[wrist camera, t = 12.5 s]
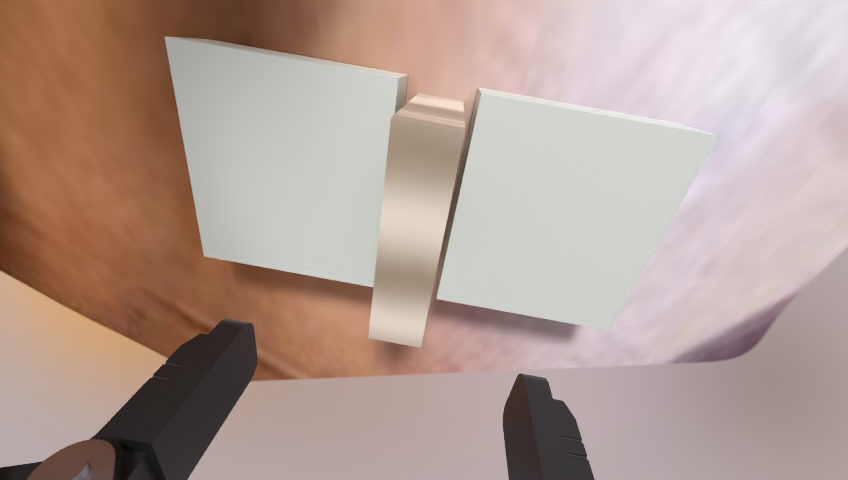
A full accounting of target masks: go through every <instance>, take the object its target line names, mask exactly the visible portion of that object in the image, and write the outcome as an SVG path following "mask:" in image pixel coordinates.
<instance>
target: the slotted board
mask: <svg viewBox="0 0 848 480" xmlns="http://www.w3.org/2000/svg"><path fill="white" fill-rule="evenodd" d="M164 37H165V36H164ZM165 42H166V48H167V53H168V59H169V65H170V70H171V76H172V81H173V87H174V92H175V98H176V103H177V109H178V115H179V120H180V126H181V131H182V137H183V142H184V148H185V153H186V159H187V165H188V170H189V176H190V181H191V187H192V192H193V198H194V203H195V209H196V214H197V220H198V226H199V231H200V237H201V242H202V248H203V253H204V256H205V257H210V258H216V259H221V260H227V261H232V262H238V263H243V264H248V265H254V266H259V267H265V268H270V269H276V270H281V271H287V272H292V273H298V274H303V275H308V276H314V277H319V278H325V279H330V280H336V281H341V282H347V283H352V284H358V285H363V286H368V287H374V277H375V268H376V258H377V248H378V239H379V229H380V219H381V209H382V200H383V190H384V180H385V170H386V161H387V151H388V141H389V132H390V122H391V117H392V116H393V115H395V114H396V113H397V112H398V111H399V110H400V109H401V108H402V107H403V106H405V98H406V89H407V81H408V75H407V74H401V73H396V72H390V71H385V70H379V69H373V68H368V67H362V66H357V65H351V64H345V63H340V62H334V61H329V60H323V59H318V58H312V57H306V56H301V55H295V54H290V53H284V52H278V51H273V50H267V49H262V48H256V47H250V46H245V45H239V44H234V43H228V42H223V41H217V40H211V39H196V38H180V37H165ZM717 137H718V135H715V134H711V133H708V132H705V131H702V130H698V129H695V128H692V127H689V126H686V125H682V124H679V123H675V122H670V121H664V120H658V119H653V118H647V117H642V116H636V115H630V114H625V113H619V112H614V111H608V110H602V109H597V108H591V107H586V106H580V105H575V104H569V103H563V102H558V101H552V100H547V99H541V98H535V97H530V96H524V95H519V94H513V93H508V92H502V91H496V90H491V89H485V88H480V87H478V90H477V94H476V99H475V104H474V108H473V113H472V118H471V123H470V127H469V132H468V137H467V141H466V146H465V151H464V155H463V160H462V165H461V169H460V174H459V179H458V184H457V188H456V193H455V198H454V202H453V207H452V212H451V216H450V221H449V226H448V231H447V235H446V240H445V245H444V249H443V254H442V259H441V263H440V268H439V277H438V288H437V298H436V299H439V300H445V301H450V302H456V303H461V304H467V305H472V306H478V307H483V308H488V309H494V310H499V311H505V312H510V313H516V314H521V315H527V316H532V317H538V318H543V319H548V320H554V321H559V322H565V323H570V324H576V325H581V326H587V327H592V328H598V329H603V330H608V331H610V329H611V327H612V325H613V324H614V322H615V320H616V318H617V316H618V315H619V313H620V311H621V309H622V307H623V306H624V304H625V302H626V300H627V299H628V297H629V295H630V293H631V291H632V290H633V288H634V286H635V284H636V282H637V281H638V279H639V277H640V275H641V273H642V272H643V270H644V268H645V266H646V264H647V263H648V261H649V259H650V257H651V256H652V254H653V252H654V250H655V248H656V247H657V245H658V243H659V241H660V239H661V238H662V236H663V234H664V232H665V230H666V229H667V227H668V225H669V223H670V222H671V220H672V218H673V216H674V214H675V213H676V211H677V209H678V207H679V205H680V204H681V202H682V200H683V198H684V196H685V195H686V193H687V191H688V189H689V187H690V186H691V184H692V182H693V180H694V179H695V177H696V175H697V173H698V171H699V170H700V168H701V166H702V164H703V162H704V161H705V159H706V157H707V155H708V153H709V152H710V150H711V148H712V146H713V144H714V143H715V141H716V139H717Z"/></svg>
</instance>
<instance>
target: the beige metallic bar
mask: <svg viewBox="0 0 848 480" xmlns="http://www.w3.org/2000/svg"><path fill="white" fill-rule="evenodd" d="M464 136H465V117H464V104H463V101H457V100H451V99H446V98H440V97H435V96H429V95H423V94H417V95H416V96H415V97H414V98H412V99H411V100H410V101H409V102H408V103H407V104H406V105H405V106H403V107H402V108H401V109H400V110H399V111H398V112H397V113H396V114H395V115H393V116H392V117H391V122H390V132H389V141H388V151H387V161H386V170H385V180H384V190H383V200H382V209H381V219H380V229H379V239H378V248H377V258H376V268H375V277H374V287H373V297H372V307H371V316H370V326H369V336H368V338H370V339H376V340H381V341H386V342H392V343H397V344H403V345H408V346H414V347H419V348H421V344H422V339H423V334H424V329H425V324H426V320H427V315H428V310H429V305H430V300H431V295H432V290H433V286H434V281H435V276H436V271H437V266H438V261H439V257H440V252H441V247H442V242H443V237H444V232H445V228H446V223H447V218H448V213H449V208H450V203H451V199H452V194H453V189H454V184H455V179H456V174H457V170H458V165H459V160H460V155H461V150H462V145H463V141H464Z"/></svg>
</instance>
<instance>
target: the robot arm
mask: <svg viewBox="0 0 848 480" xmlns="http://www.w3.org/2000/svg"><path fill="white" fill-rule="evenodd" d="M256 366H257V350H256V342H255V334H254V327H253V325H252V324H251V323H247V322H241V321H236V320H230V319H224V320H222V321H221V322H220V323H219V324H218V325H217V326H216V327H215V328H214V329H213V330H212V331H211V333H210V334H209V335H206V334H199V335H197V336H196V337H194V338H193V339H191V340H189V341H188V342H186V343H184V344H183V345H181V346H180V347H179V348H178V349H177V350H176V351H175V352H174V353H173V354H172V356H171V357H170V358H169V359H168V360H167V361H166V364H165V365H162V366H161V367H160V368H159V369H158V370H157V371H156V372H155V373H154V375H153V377H152V378H150V379H149V380H148V381H147V382H146V383H145V384H144V385H143V386H142V387H141V388H140V389H139V390H138V391H137V392H136V393H135V394H134V395H133V396H132V398H131V399H130V400H129V401H128V402H127V403H126V404H125V405H124V406H123V407H122V408H121V409H120V410H119V411H118V412H117V413H116V414H115V415H114V416H113V417H112V418H111V420H110V421H109V422H108V423H107V424H106V425H105V426H104V427H103V428H102V429H101V430H100V431H99V432H98V433H97V434H96V435H95V436H93V437H92V438H91V439H90V440H86V441H81V442H78V443H75V444H72V445H70V446H67V447H65V448H64V449H61V450H60V451H58V452H56V453H55V454H53V455H51V456H50V457H49V458H47V459H46V460H45V461H42V462H38V463H30V464H23V465H17V466H10V467H2V468H0V480H187V479H188V478H189V476H190V474H191V473H192V471H193V470H194V468H195V466H196V465H197V463H198V462H199V460H200V459H201V457H202V456H203V454H204V452H205V451H206V449H207V448H208V446H209V445H210V443H211V442H212V440H213V438H214V437H215V435H216V434H217V432H218V431H219V429H220V427H221V426H222V424H223V423H224V421H225V420H226V418H227V417H228V415H229V413H230V412H231V410H232V409H233V407H234V406H235V404H236V402H237V401H238V399H239V398H240V396H241V395H242V393H243V392H244V389H245V388H246V387H247V385H248V384H249V382H250V381H251V379H252V377H253V375H254V372H255V370H256ZM503 431H504V440H505V449H506V457H507V466H508V475H509V480H594V477H593V473H592V470H591V467H590V464H589V461H588V460H587V454H586V451H585V448H584V445H583V443H582V438H581V435H580V432H579V429H578V425H577V422H576V419H575V418H574V416H573V415H572V413H571V412H570V410H569V409H568V407H567V406H566V404H565V403H564V402H563V401H560V400H555V399H553V398H552V394H551V390H550V387H549V383H548V381H547V380H546V378H542V377H537V376H531V375H526V374H519V375H518V376H517V378H516V380H515V383H514V385H513V388H512V390H511V392H510V395H509V397H508V399H507V402H506V404H505V407H504V413H503Z"/></svg>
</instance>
